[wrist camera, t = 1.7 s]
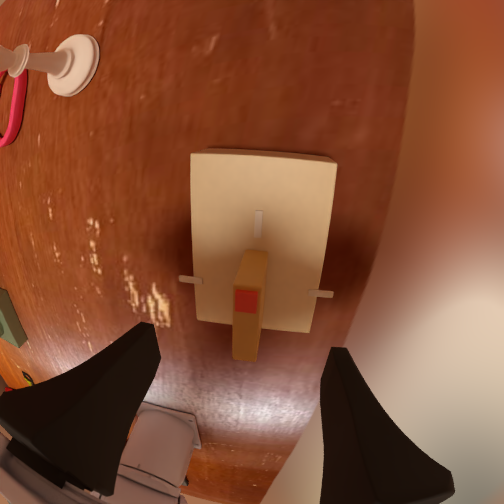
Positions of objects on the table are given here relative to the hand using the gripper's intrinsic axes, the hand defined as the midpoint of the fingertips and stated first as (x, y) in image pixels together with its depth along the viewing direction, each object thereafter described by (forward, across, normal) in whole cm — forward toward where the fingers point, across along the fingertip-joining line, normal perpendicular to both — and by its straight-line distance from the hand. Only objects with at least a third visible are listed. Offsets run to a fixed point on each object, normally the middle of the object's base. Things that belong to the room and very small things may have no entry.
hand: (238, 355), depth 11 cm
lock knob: (+5, 0, 0) cm, 5 cm away
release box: (+8, +36, +12) cm, 39 cm away
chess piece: (+8, +14, -14) cm, 22 cm away
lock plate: (+8, 0, -2) cm, 9 cm away
